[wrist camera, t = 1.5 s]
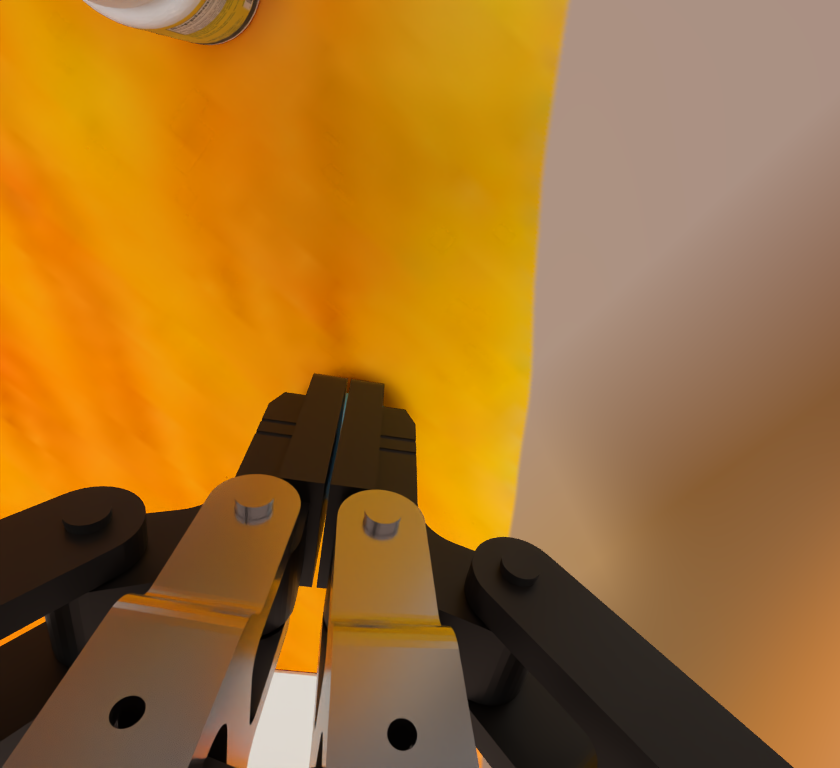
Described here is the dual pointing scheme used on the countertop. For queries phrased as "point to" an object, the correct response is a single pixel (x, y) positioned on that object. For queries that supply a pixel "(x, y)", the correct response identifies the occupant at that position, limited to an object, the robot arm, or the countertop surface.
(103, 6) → the supplement bottle
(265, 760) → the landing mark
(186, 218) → the countertop surface
